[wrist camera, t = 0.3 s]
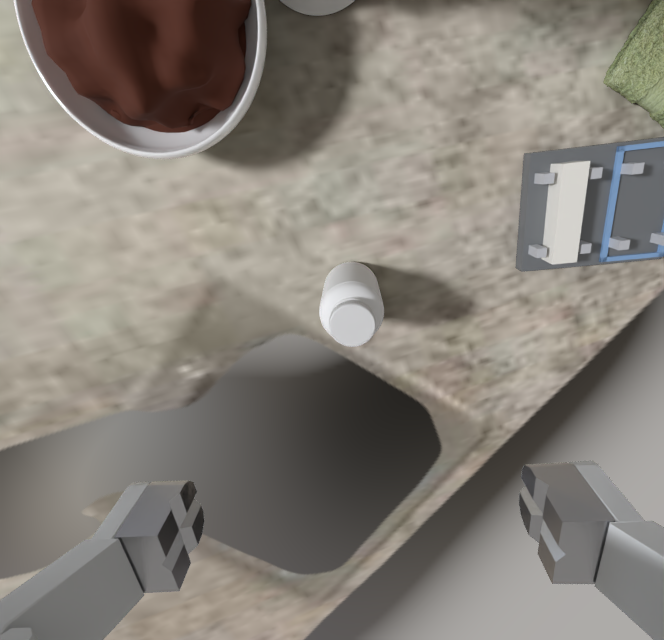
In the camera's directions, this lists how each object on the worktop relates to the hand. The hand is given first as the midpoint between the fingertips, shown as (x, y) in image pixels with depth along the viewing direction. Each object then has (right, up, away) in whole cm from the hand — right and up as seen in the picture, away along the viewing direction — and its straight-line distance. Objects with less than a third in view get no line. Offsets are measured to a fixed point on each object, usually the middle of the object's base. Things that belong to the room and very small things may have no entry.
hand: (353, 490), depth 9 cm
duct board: (+34, +19, +41) cm, 56 cm away
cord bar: (+29, +18, +39) cm, 52 cm away
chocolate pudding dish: (-19, +37, +36) cm, 56 cm away
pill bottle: (+2, +9, +47) cm, 48 cm away
